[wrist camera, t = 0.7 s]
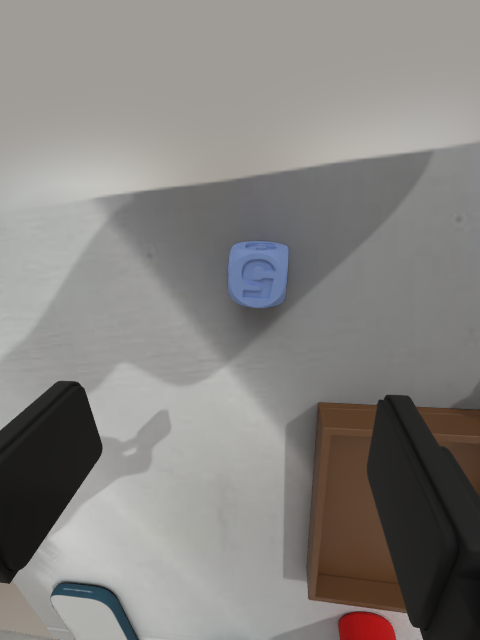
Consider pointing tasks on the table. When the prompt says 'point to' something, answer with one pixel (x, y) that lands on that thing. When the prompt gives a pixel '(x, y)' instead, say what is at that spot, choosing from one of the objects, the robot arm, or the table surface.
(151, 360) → the table surface
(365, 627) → the soda can
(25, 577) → the table surface
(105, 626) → the external hard drive
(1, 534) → the robot arm
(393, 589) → the tray
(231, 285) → the decorative dice
